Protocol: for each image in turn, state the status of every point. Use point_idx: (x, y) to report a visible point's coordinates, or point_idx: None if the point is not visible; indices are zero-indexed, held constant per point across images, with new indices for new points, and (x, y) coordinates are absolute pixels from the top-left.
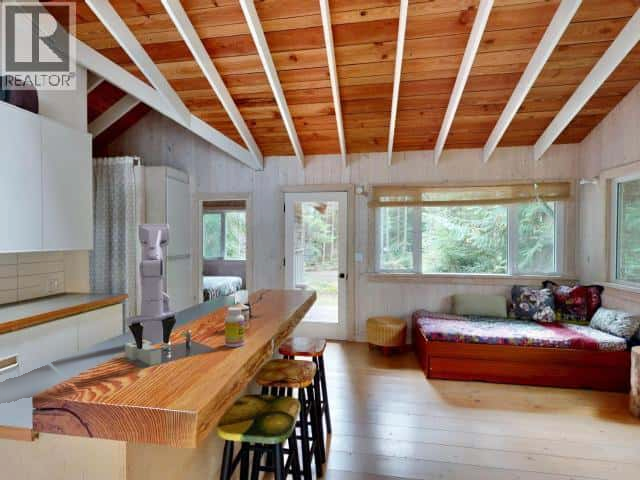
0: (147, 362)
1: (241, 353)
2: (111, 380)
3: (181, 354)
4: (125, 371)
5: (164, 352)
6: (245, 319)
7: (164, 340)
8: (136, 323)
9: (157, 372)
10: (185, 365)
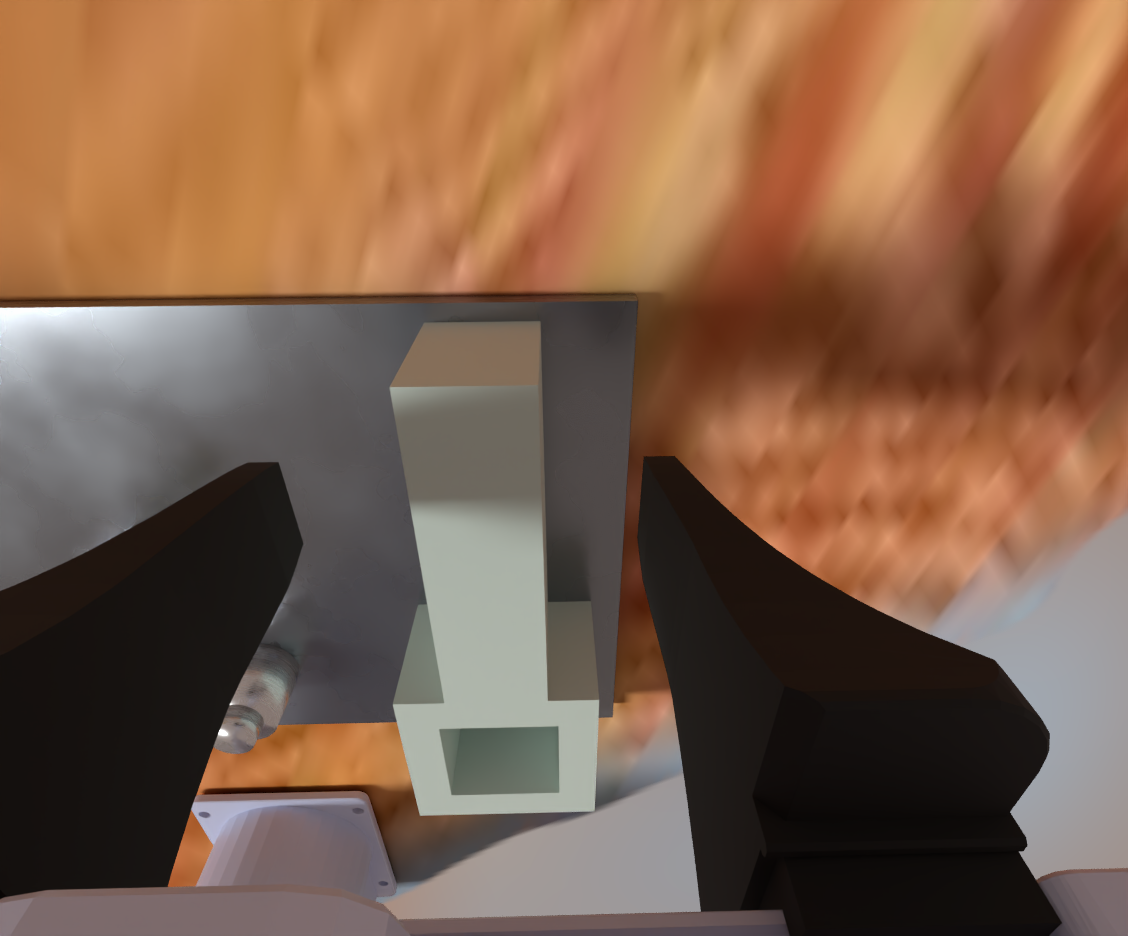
0: (542, 415)
1: None
2: (960, 252)
3: (161, 442)
4: (742, 409)
5: (305, 607)
6: None
7: (280, 533)
8: (914, 908)
9: (548, 86)
10: (179, 51)
